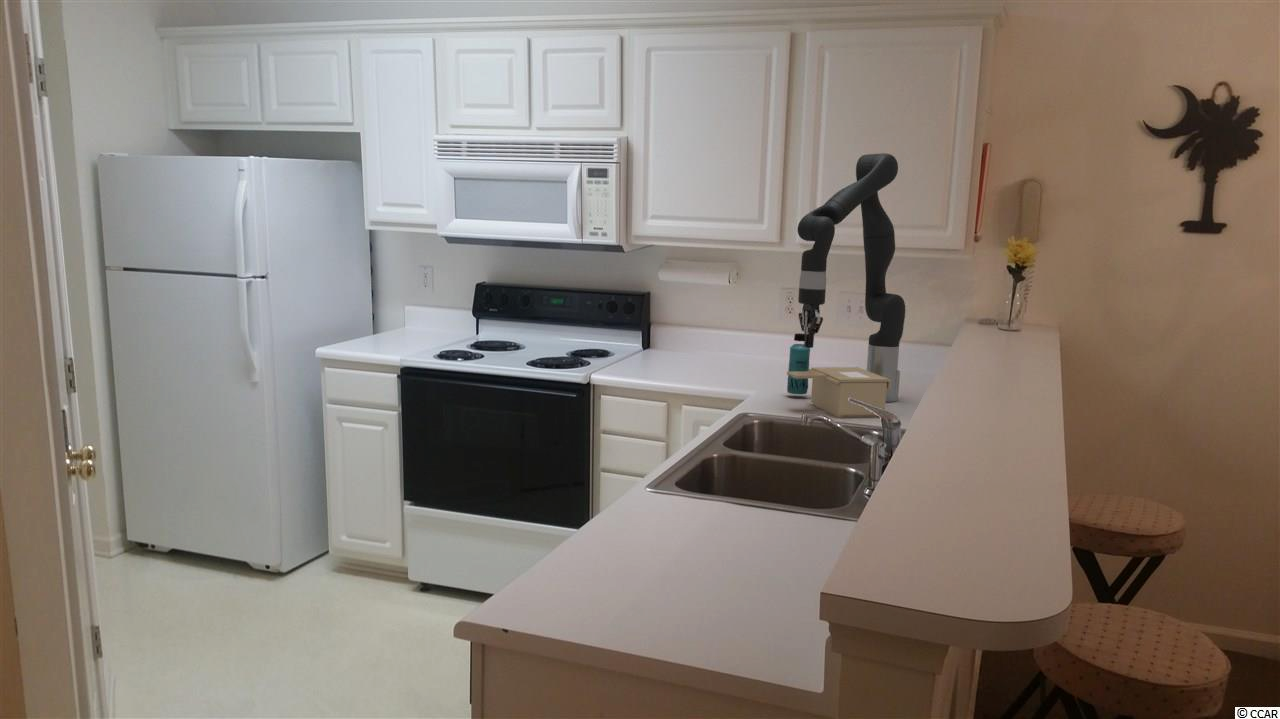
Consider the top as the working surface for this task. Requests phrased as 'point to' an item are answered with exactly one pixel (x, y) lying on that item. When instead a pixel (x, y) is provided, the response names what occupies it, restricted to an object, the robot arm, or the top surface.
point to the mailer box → (837, 397)
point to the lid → (841, 375)
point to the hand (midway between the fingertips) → (808, 347)
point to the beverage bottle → (798, 366)
